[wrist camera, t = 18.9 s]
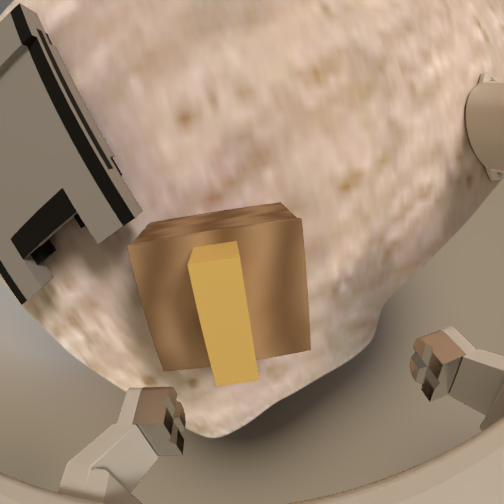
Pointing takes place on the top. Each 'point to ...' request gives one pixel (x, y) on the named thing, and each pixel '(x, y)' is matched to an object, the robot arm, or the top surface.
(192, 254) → the yellow block
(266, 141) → the top surface
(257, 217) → the wooden box
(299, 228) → the box lid
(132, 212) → the game console
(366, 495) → the robot arm
